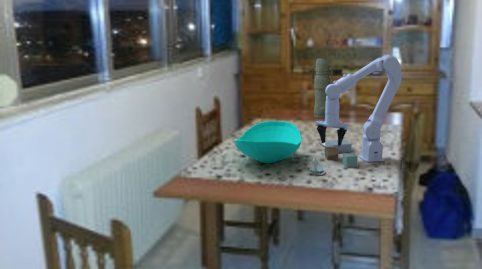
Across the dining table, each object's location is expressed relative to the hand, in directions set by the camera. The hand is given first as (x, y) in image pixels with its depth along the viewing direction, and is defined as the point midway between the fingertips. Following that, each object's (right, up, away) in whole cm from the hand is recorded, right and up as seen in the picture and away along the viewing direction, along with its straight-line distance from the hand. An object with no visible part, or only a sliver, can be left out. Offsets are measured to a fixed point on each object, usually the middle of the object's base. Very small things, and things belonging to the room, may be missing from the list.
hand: (331, 144), depth 224 cm
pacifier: (-9, -11, -19) cm, 23 cm away
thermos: (+9, +14, +86) cm, 88 cm away
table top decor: (-27, -7, 0) cm, 28 cm away
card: (+3, -1, +23) cm, 24 cm away
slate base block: (+5, -3, +14) cm, 15 cm away
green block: (+6, -9, -10) cm, 14 cm away
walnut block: (0, -6, +1) cm, 6 cm away
